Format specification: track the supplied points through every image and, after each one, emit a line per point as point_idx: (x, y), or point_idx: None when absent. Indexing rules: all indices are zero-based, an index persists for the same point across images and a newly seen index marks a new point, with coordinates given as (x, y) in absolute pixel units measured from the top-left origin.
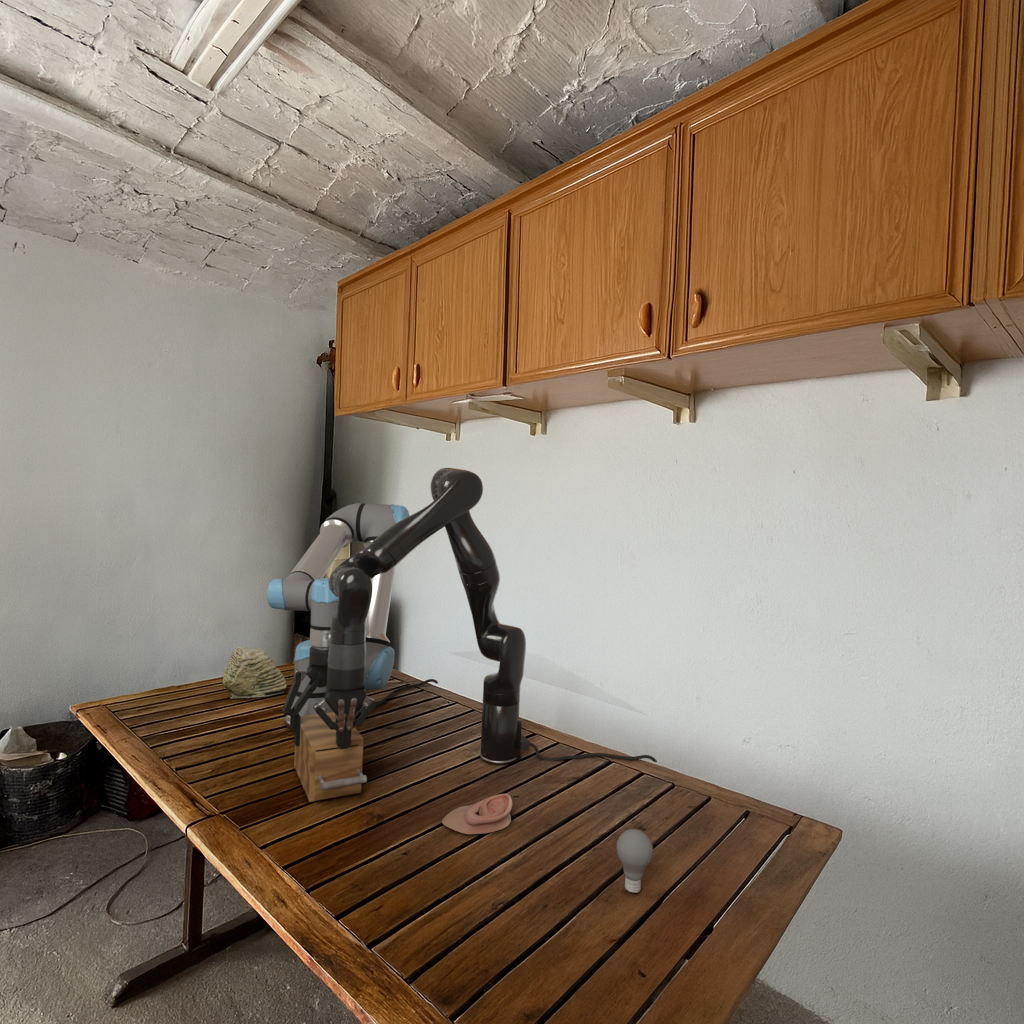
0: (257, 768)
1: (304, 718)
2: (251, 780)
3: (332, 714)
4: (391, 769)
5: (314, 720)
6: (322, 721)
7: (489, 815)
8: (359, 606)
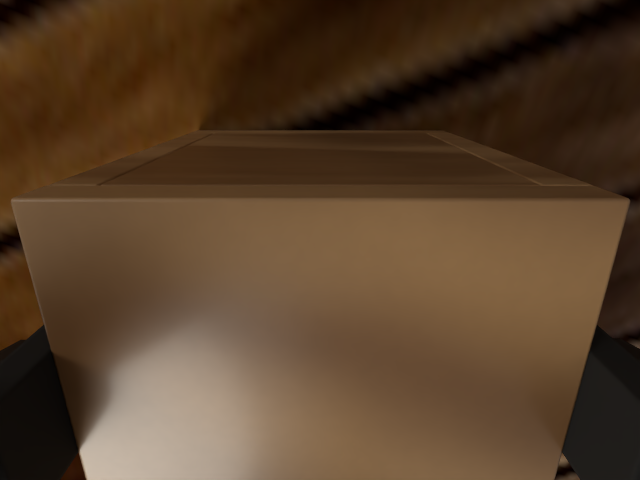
0: (9, 83)
1: (118, 301)
2: (3, 217)
3: (459, 283)
4: (602, 328)
5: (224, 391)
6: (298, 437)
7: None
8: None
